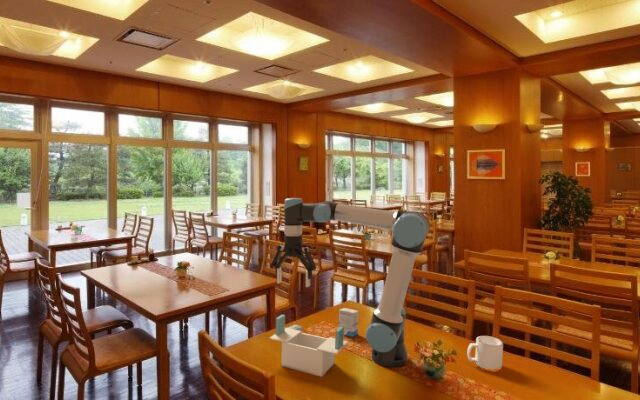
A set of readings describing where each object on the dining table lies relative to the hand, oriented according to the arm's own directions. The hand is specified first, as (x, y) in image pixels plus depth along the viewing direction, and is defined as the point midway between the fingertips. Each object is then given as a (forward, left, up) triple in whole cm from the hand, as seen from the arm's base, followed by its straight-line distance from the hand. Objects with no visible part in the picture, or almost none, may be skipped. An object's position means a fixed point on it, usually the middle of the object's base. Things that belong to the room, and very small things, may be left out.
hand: (293, 284), depth 168 cm
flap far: (0, +5, -20) cm, 21 cm away
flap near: (-21, +5, -20) cm, 30 cm away
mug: (-75, -29, -31) cm, 86 cm away
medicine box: (+4, -7, -31) cm, 32 cm away
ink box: (-13, -32, -31) cm, 46 cm away
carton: (-10, +5, -31) cm, 33 cm away
